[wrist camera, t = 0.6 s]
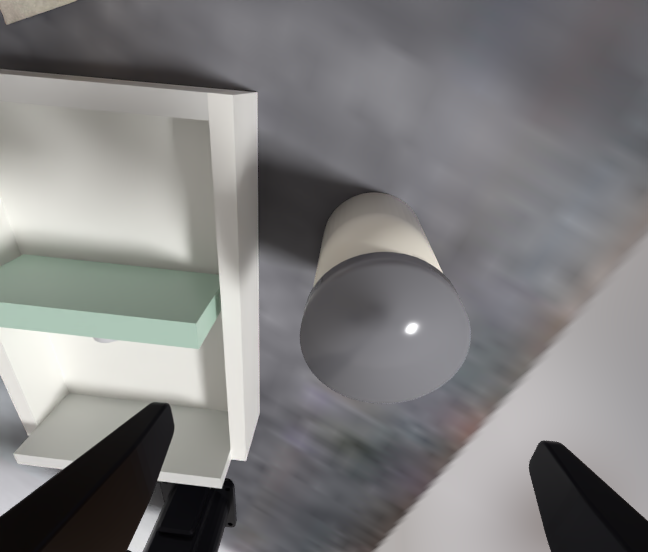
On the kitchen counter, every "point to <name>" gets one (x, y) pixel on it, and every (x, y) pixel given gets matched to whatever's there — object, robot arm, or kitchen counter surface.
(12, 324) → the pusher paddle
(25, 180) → the white tray
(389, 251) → the jar
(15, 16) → the condiment
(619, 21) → the kitchen counter surface
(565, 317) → the kitchen counter surface
